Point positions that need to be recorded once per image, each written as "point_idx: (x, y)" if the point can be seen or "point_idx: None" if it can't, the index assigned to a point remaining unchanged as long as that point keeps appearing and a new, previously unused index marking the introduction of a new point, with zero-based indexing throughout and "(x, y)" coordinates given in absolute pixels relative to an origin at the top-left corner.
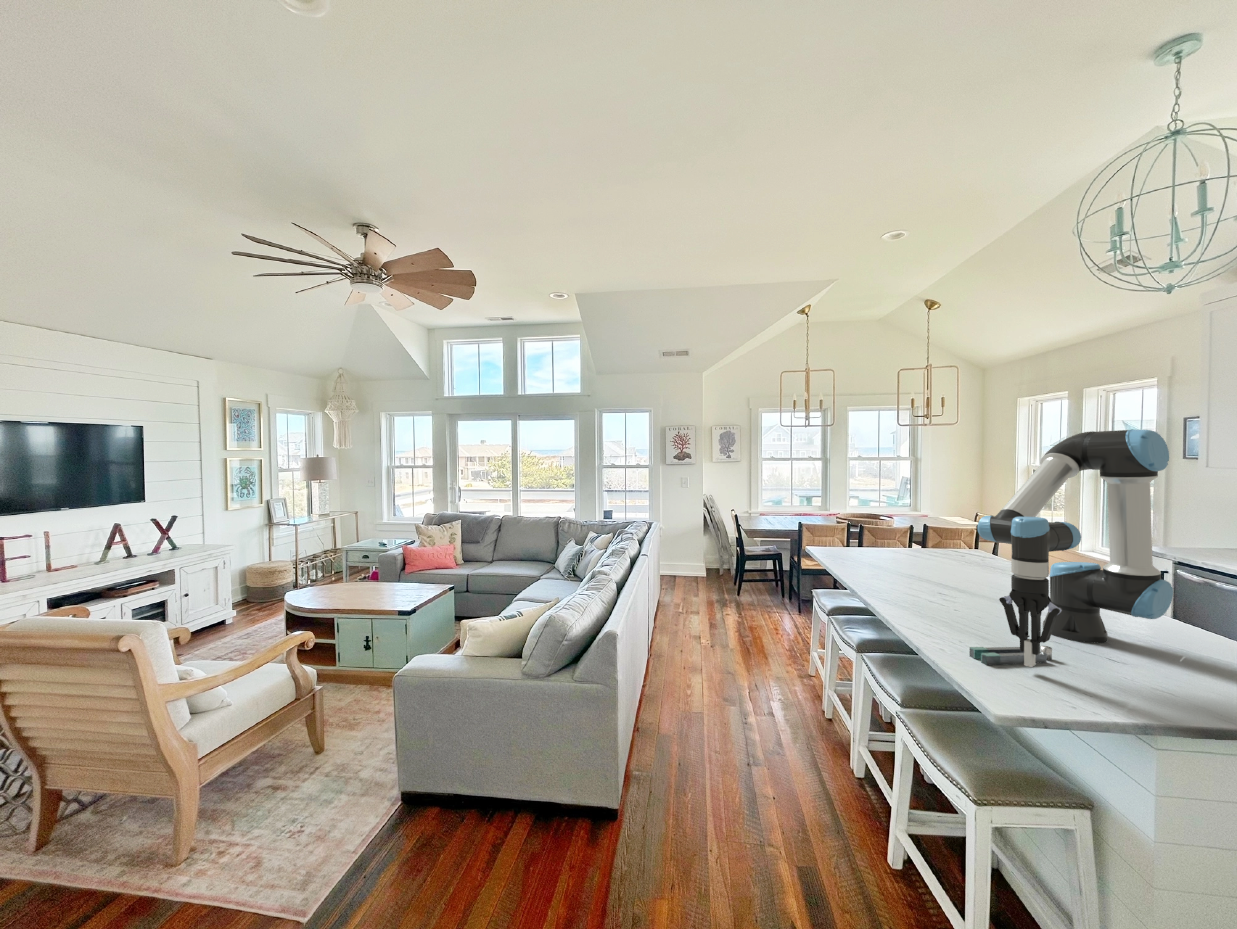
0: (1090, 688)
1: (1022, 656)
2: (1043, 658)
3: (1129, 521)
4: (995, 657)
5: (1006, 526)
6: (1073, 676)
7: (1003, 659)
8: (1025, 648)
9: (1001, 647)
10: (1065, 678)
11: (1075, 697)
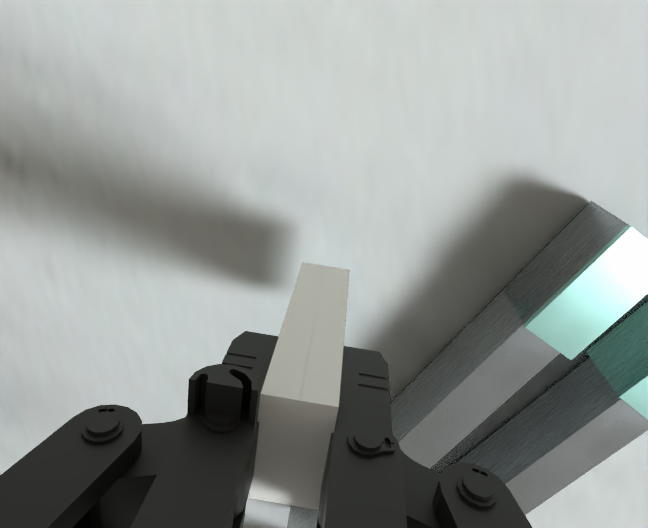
0: (32, 286)
1: None
2: (299, 517)
3: None
4: (555, 285)
5: None
6: (148, 408)
7: (495, 328)
8: (330, 347)
9: (531, 507)
10: (164, 347)
11: (14, 37)
